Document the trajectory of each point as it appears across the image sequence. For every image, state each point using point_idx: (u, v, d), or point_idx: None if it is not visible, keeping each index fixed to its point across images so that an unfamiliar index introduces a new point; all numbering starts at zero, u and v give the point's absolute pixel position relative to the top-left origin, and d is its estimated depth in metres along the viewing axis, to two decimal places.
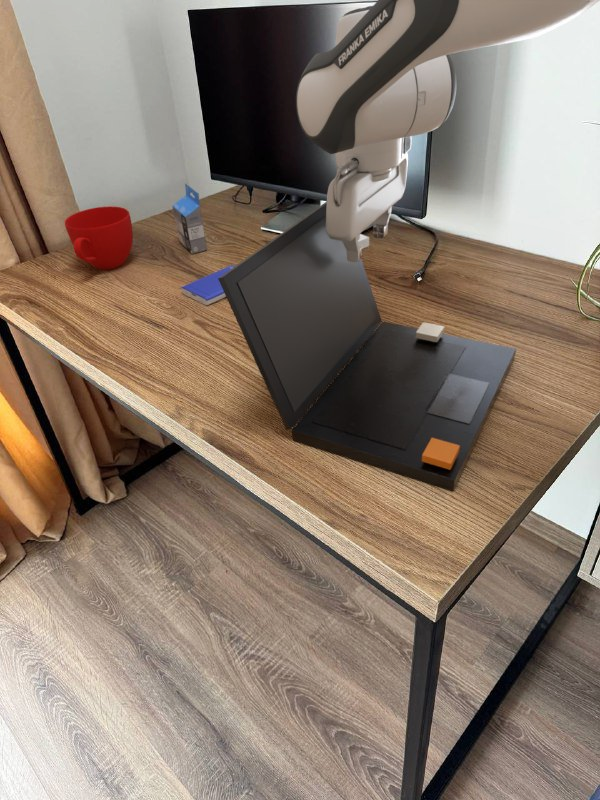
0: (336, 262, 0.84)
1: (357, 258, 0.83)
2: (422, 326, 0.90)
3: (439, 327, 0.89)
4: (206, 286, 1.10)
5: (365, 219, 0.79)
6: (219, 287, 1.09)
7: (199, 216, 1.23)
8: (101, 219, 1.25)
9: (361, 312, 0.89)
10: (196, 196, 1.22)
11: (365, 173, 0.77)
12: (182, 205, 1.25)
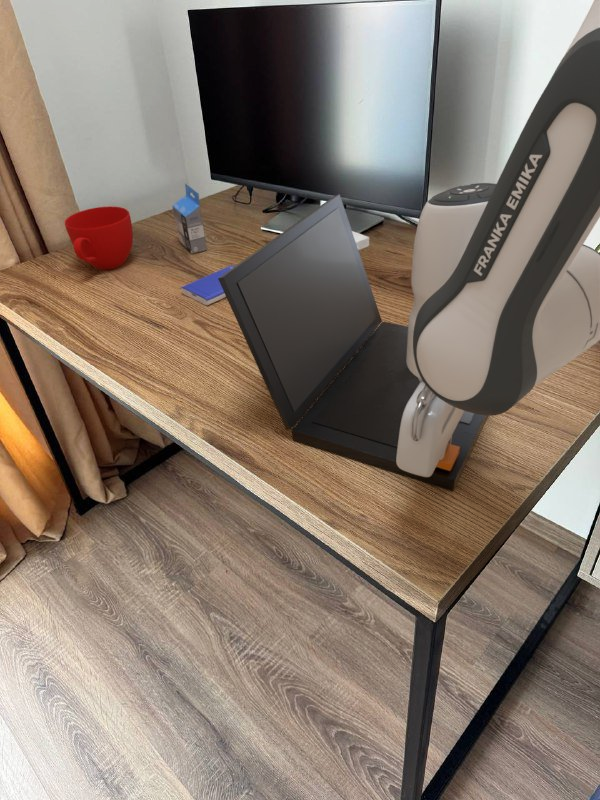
0: (336, 262, 0.84)
1: (442, 456, 0.66)
2: None
3: None
4: (206, 286, 1.10)
5: (446, 440, 0.59)
6: (219, 287, 1.09)
7: (199, 216, 1.23)
8: (101, 219, 1.25)
9: (361, 312, 0.89)
10: (196, 196, 1.22)
11: None
12: (182, 205, 1.25)
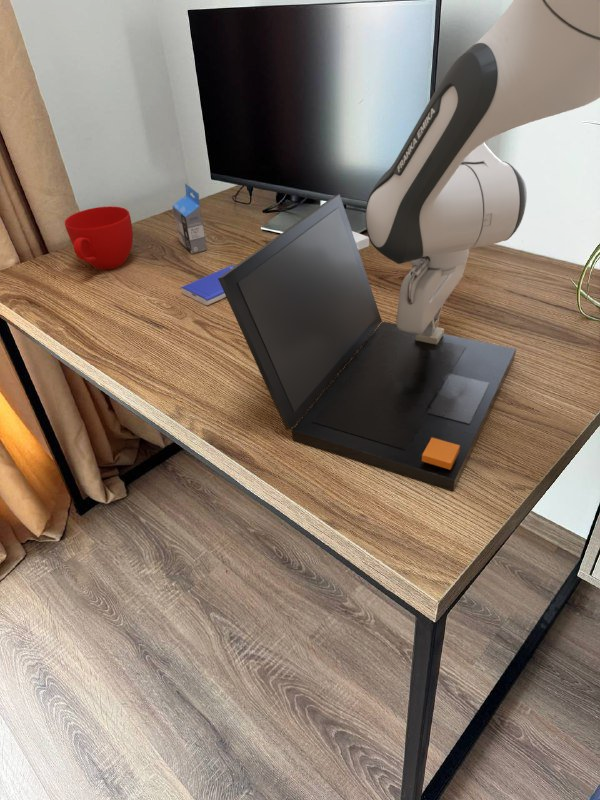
0: (336, 262, 0.84)
1: (431, 332, 0.87)
2: None
3: (439, 329, 0.89)
4: (206, 286, 1.10)
5: (433, 311, 0.81)
6: (219, 287, 1.09)
7: (199, 216, 1.23)
8: (101, 219, 1.25)
9: (361, 312, 0.89)
10: (196, 196, 1.22)
11: (435, 270, 0.78)
12: (182, 205, 1.25)
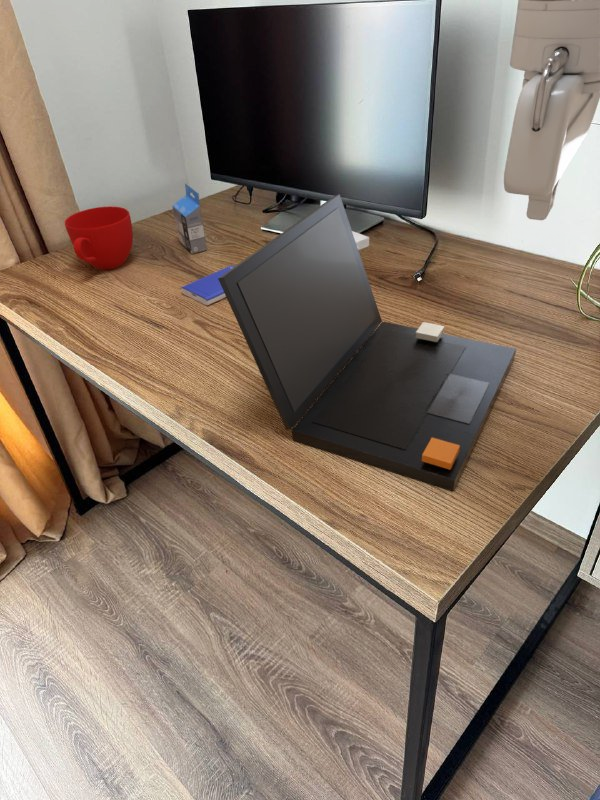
0: (336, 262, 0.84)
1: (546, 213, 0.52)
2: (422, 326, 0.90)
3: (439, 327, 0.89)
4: (206, 286, 1.10)
5: (564, 160, 0.46)
6: (219, 287, 1.09)
7: (199, 216, 1.23)
8: (101, 219, 1.25)
9: (361, 312, 0.89)
10: (196, 196, 1.22)
11: (577, 75, 0.43)
12: (182, 205, 1.25)
